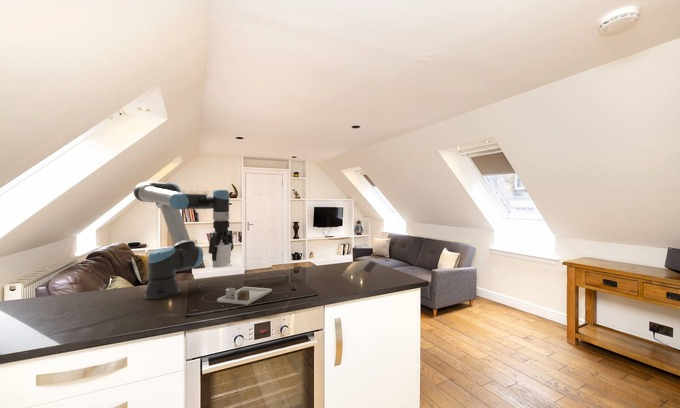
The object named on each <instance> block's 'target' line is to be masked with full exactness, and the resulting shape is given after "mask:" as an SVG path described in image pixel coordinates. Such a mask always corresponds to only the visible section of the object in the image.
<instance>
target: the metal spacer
mask: <svg viewBox="0 0 680 408" xmlns="http://www.w3.org/2000/svg"><path fill="white" fill-rule="evenodd" d="M235 291H236V288H235V287H228V288H225V295H226V299H232V300H235Z"/></svg>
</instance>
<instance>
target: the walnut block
mask: <svg viewBox="0 0 680 408" xmlns="http://www.w3.org/2000/svg"><path fill="white" fill-rule="evenodd" d="M237 300H243V301H248V300H249V291H240V292H239V293H237Z"/></svg>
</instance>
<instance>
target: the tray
mask: <svg viewBox="0 0 680 408" xmlns="http://www.w3.org/2000/svg"><path fill="white" fill-rule="evenodd" d="M272 290H273V289H272V288H265V287H252V286H243V287H241V288H239V289H235V300H232V299H226V294H225V295H223V296H221V297H218V298H217V299H216V302H218V303H224V304H236V305H246V306H248V305H250V304H252V303H253V302H255V301H257V300H259V299H261V298H262V297H264V296H266V295H268V294H270V293H271V292H272ZM240 291H249V300H248V301H243V300H237V293H239V292H240Z"/></svg>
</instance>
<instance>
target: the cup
mask: <svg viewBox="0 0 680 408" xmlns="http://www.w3.org/2000/svg"><path fill="white" fill-rule="evenodd" d="M231 245H232V243H229V245H224V242H220V244H219V245H215V247H216V246H217V249H218V251H217V254H218V267H217V268H223V267H224V268H225V267H228V265H229V264H228V263H229V257H230V258H231V256H230V255H231V254H230V251H231ZM231 252H232V251H231Z"/></svg>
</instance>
